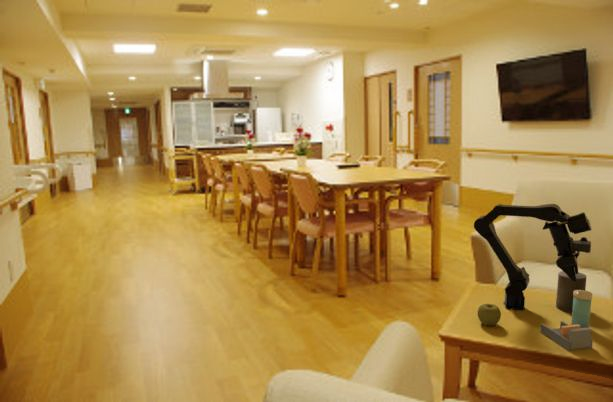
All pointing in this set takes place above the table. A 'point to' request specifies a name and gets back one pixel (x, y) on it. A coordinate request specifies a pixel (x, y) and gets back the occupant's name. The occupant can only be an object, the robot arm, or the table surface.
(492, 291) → the table surface
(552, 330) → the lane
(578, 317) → the jar
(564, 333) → the plate
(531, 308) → the table surface
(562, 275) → the pillar candle
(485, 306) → the apple
